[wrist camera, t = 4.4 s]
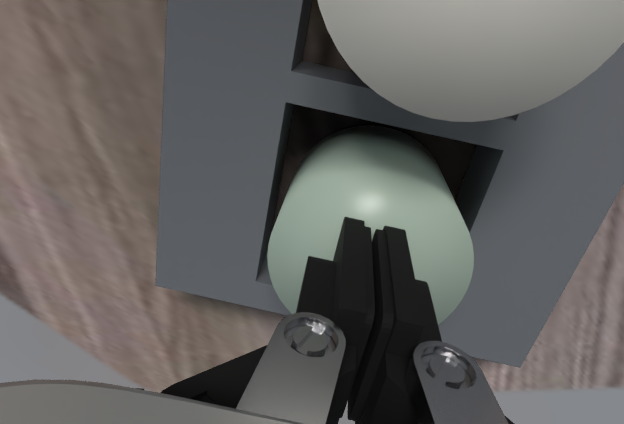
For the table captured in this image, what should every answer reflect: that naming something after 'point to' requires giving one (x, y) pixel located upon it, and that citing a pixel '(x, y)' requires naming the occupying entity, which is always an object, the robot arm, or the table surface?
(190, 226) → the pebble holder tray
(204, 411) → the robot arm
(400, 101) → the cream egg
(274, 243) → the sage egg
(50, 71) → the table surface
